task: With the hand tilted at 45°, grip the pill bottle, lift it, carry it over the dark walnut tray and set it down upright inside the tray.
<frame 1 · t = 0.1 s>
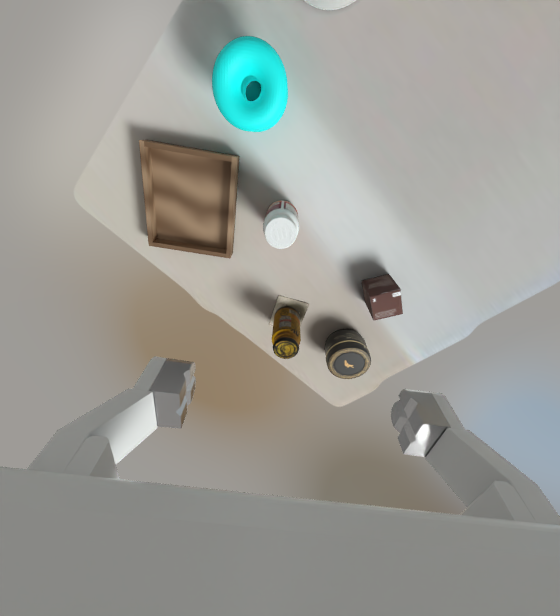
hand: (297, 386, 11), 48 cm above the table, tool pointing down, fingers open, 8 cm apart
donuts: (256, 95, 45), on the table
box: (376, 288, 62), on the table
pill bottle: (282, 216, 55), on the table
jar: (343, 342, 70), on the table
condiment: (288, 313, 67), on the table
tray: (193, 201, 54), on the table
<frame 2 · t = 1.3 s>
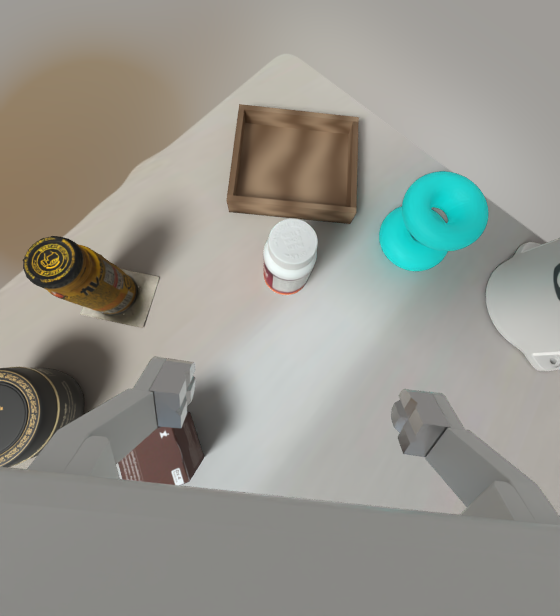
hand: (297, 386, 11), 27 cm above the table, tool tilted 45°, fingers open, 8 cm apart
donuts: (408, 242, 42), on the table
box: (175, 443, 35), on the table
pill bottle: (285, 276, 40), on the table
jar: (49, 408, 35), on the table
condiment: (122, 296, 39), on the table
tray: (293, 170, 44), on the table
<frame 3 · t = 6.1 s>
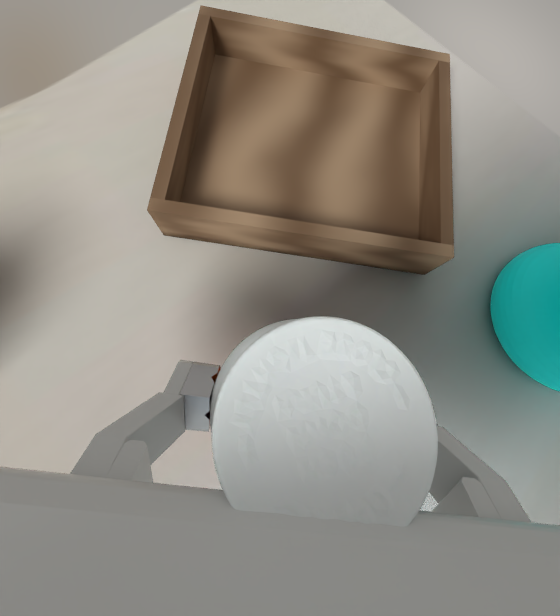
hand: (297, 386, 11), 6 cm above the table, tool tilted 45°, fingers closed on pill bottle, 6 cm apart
donuts: (544, 320, 20), on the table
pill bottle: (281, 391, 17), on the table, touching gripper
tray: (309, 156, 21), on the table
when the fingers open (8 cm above the table, at t = 12.1 s): pill bottle drops 1 cm, resting on tray.
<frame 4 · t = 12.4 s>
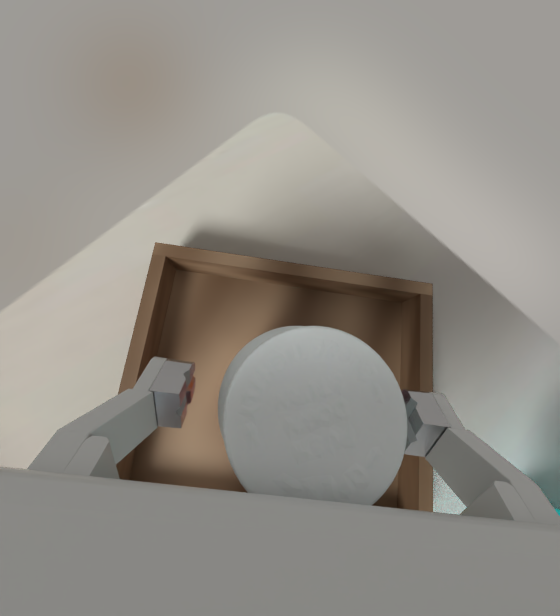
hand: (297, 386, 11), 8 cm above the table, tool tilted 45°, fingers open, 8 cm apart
pill bottle: (279, 391, 19), resting on tray
tray: (278, 389, 19), on the table
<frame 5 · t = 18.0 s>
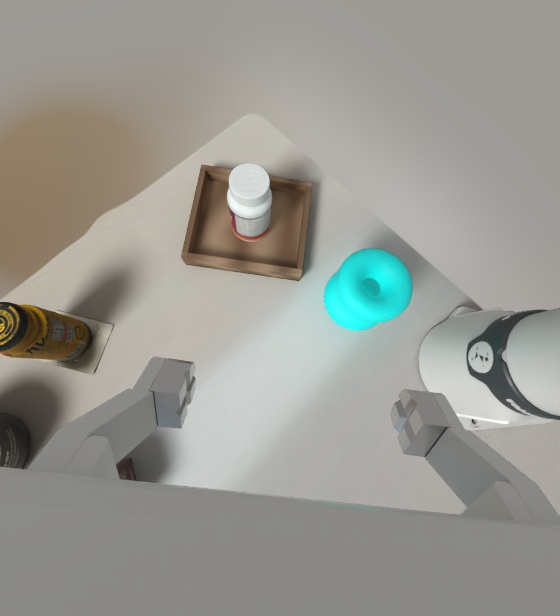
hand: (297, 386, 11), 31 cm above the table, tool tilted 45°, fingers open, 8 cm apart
donuts: (352, 301, 46), on the table
box: (114, 488, 37), on the table
pill bottle: (250, 226, 46), resting on tray
condiment: (76, 342, 41), on the table
tray: (250, 227, 47), on the table
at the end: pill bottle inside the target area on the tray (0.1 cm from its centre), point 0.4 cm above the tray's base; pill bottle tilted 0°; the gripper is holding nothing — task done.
